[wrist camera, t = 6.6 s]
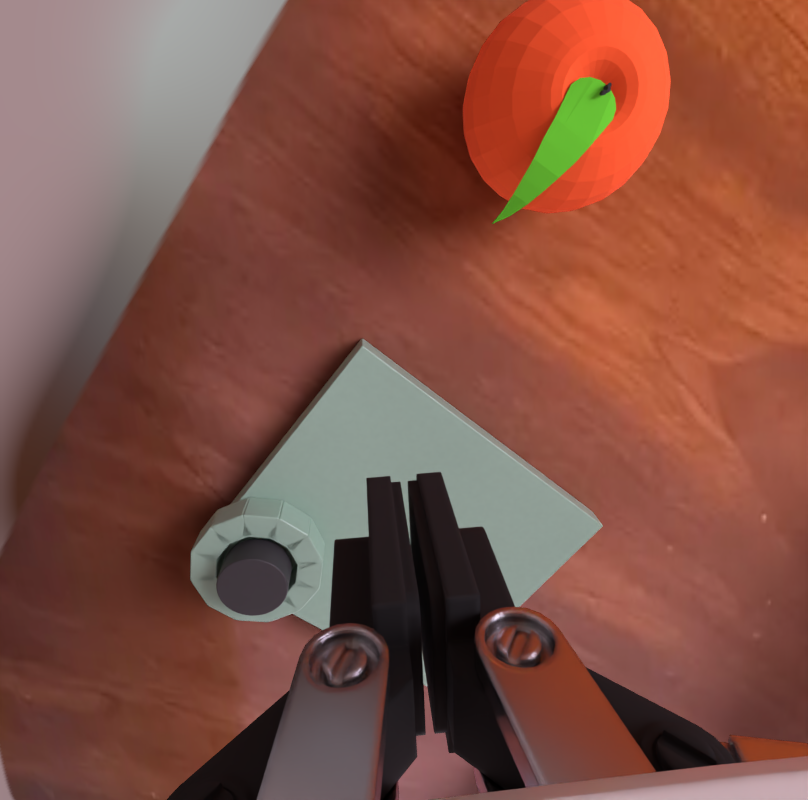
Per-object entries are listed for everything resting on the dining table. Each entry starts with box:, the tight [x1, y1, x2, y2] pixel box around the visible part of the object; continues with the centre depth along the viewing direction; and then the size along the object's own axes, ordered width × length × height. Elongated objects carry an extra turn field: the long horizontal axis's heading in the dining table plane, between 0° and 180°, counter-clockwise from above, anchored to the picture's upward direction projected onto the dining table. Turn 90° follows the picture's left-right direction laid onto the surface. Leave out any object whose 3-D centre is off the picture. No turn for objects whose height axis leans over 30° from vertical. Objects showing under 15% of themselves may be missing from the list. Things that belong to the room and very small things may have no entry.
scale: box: [190, 339, 603, 686], centre depth 27 cm, size 16×14×3 cm
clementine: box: [463, 0, 671, 224], centre depth 19 cm, size 8×7×7 cm
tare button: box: [216, 539, 292, 616], centre depth 25 cm, size 3×3×2 cm
